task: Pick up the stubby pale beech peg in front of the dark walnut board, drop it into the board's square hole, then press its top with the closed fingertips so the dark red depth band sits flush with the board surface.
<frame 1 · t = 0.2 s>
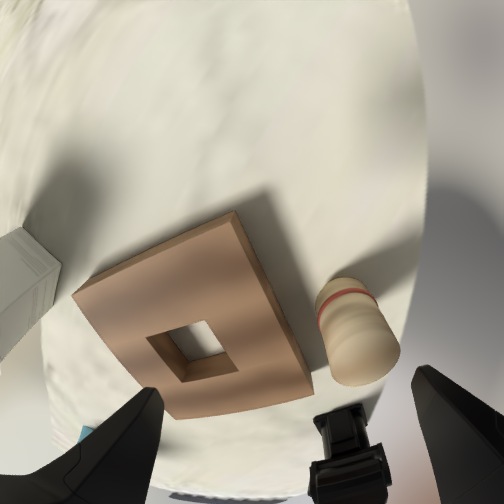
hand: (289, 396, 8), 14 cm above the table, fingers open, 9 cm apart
walnut board: (198, 333, 24), on the table
beech peg: (339, 296, 22), on the table
supplement box: (36, 267, 23), on the table
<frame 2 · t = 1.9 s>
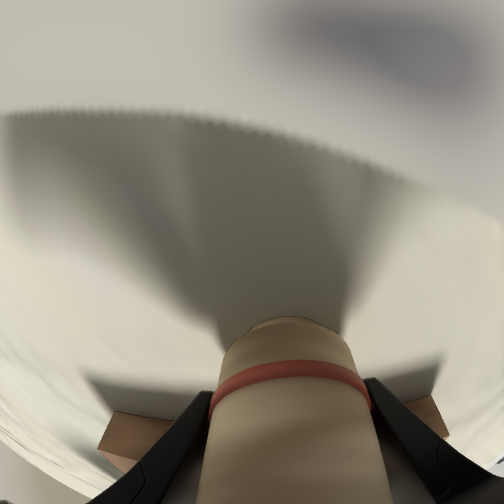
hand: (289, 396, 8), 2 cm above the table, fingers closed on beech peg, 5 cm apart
walnut board: (276, 474, 14), on the table
beech peg: (286, 354, 10), on the table, touching gripper
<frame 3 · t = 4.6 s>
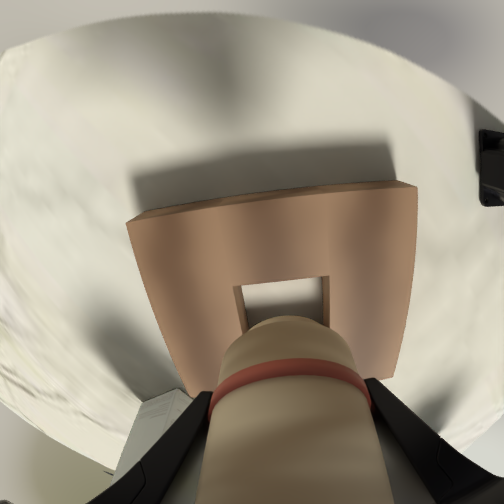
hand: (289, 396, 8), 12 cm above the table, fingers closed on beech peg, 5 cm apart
walnut board: (283, 297, 20), on the table
beech peg: (286, 354, 10), point 10 cm above the table, touching gripper
supplement box: (181, 410, 27), on the table
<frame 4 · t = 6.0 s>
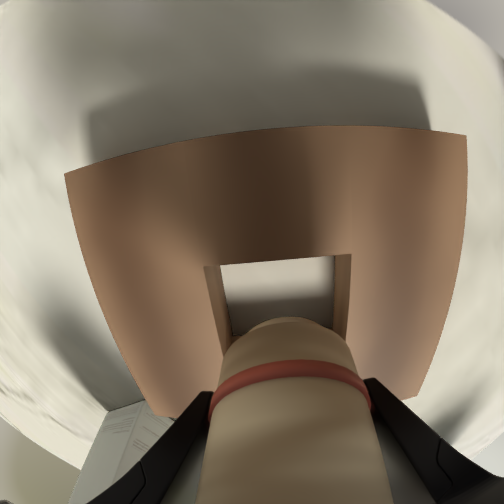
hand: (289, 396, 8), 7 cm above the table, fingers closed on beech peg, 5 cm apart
walnut board: (279, 289, 15), on the table
beech peg: (286, 354, 10), point 5 cm above the table, touching gripper
supplement box: (152, 424, 21), on the table
when the fingers open (4 cm above the table, at t = 7.2 s): beech peg drops 2 cm, resting in walnut board.
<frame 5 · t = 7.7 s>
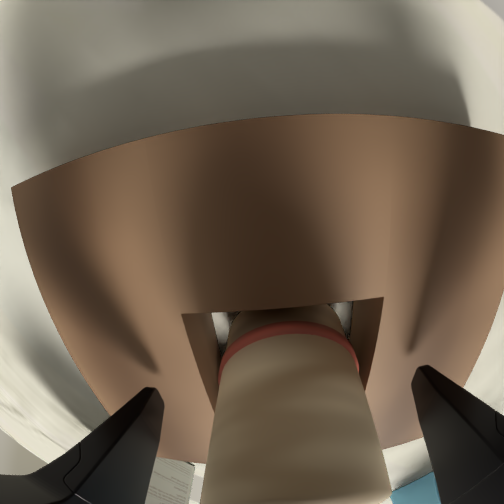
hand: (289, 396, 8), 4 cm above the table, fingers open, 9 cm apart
walnut board: (283, 327, 11), on the table
beech peg: (284, 327, 11), resting in walnut board
supplement box: (143, 451, 18), on the table
vase: (416, 483, 23), on the table
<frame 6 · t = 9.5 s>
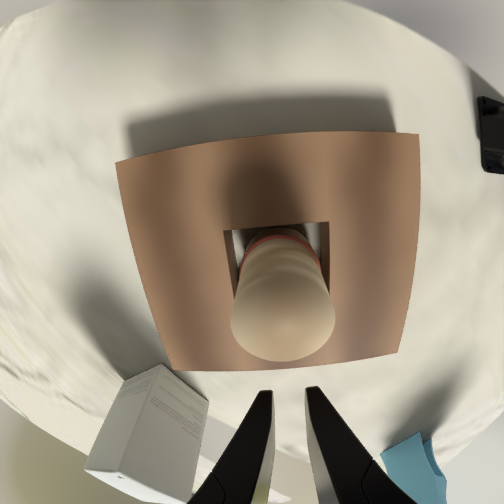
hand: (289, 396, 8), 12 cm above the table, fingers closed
walnut board: (278, 255, 19), on the table
beech peg: (279, 254, 19), resting in walnut board
supplement box: (165, 391, 26), on the table
vase: (405, 446, 31), on the table
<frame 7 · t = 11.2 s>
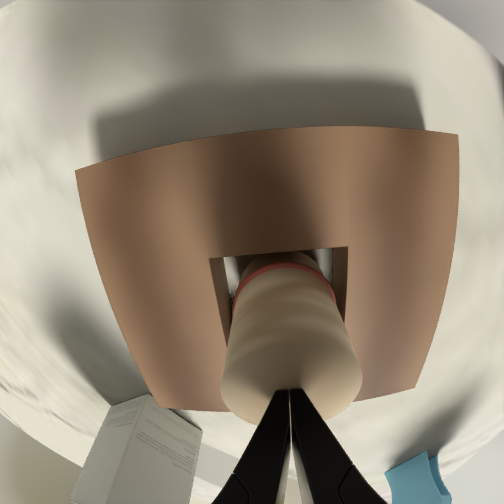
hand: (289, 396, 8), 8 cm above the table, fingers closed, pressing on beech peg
walnut board: (280, 282, 15), on the table
beech peg: (281, 281, 15), resting in walnut board, touching gripper
supplement box: (155, 418, 22), on the table
vase: (411, 464, 27), on the table
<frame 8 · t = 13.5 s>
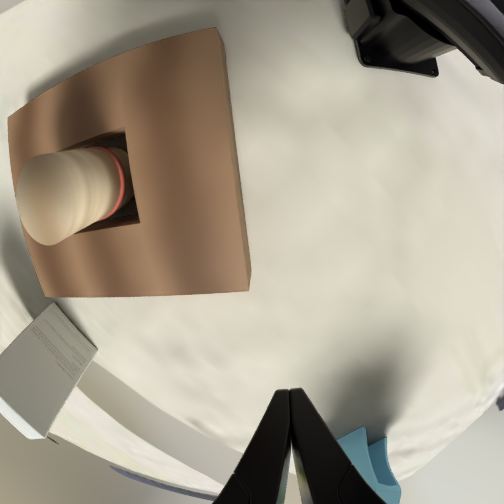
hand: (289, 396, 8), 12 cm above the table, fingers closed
walnut board: (115, 178, 17), on the table
beech peg: (116, 177, 17), resting in walnut board
supplement box: (65, 336, 24), on the table
vase: (352, 444, 29), on the table
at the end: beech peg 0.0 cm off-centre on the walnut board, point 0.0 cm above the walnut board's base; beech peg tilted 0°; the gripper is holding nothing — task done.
